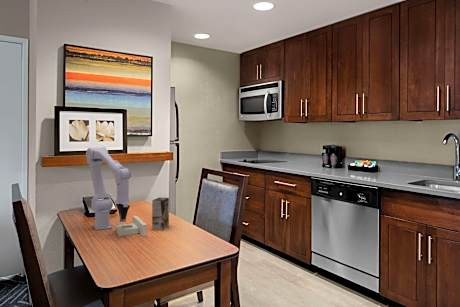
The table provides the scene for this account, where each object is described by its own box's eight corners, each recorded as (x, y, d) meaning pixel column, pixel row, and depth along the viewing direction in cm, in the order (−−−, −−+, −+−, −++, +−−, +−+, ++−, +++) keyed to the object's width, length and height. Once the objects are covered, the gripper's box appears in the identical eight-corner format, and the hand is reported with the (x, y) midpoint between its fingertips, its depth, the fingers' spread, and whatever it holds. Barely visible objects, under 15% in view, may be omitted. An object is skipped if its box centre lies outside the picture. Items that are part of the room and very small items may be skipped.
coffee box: (162, 230, 176) (162, 200, 175) (151, 229, 177) (151, 200, 176) (169, 225, 185) (169, 197, 184) (158, 225, 186) (158, 197, 185)
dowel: (119, 220, 169) (119, 209, 168) (125, 219, 170) (125, 208, 170) (120, 222, 166) (120, 210, 166) (126, 221, 168) (126, 209, 167)
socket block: (115, 231, 174) (115, 225, 174) (134, 228, 179) (134, 223, 179) (119, 236, 165) (119, 230, 165) (139, 233, 170) (139, 227, 170)
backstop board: (132, 226, 182) (132, 216, 182) (136, 226, 183) (136, 215, 183) (142, 236, 165) (142, 224, 165) (146, 236, 166) (146, 224, 166)
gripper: (111, 190, 172) (112, 215, 173) (117, 195, 159) (117, 222, 160) (125, 189, 175) (125, 214, 176) (132, 193, 163) (132, 220, 163)
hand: (122, 218), depth 168 cm, fingers closed on dowel, 3 cm apart
